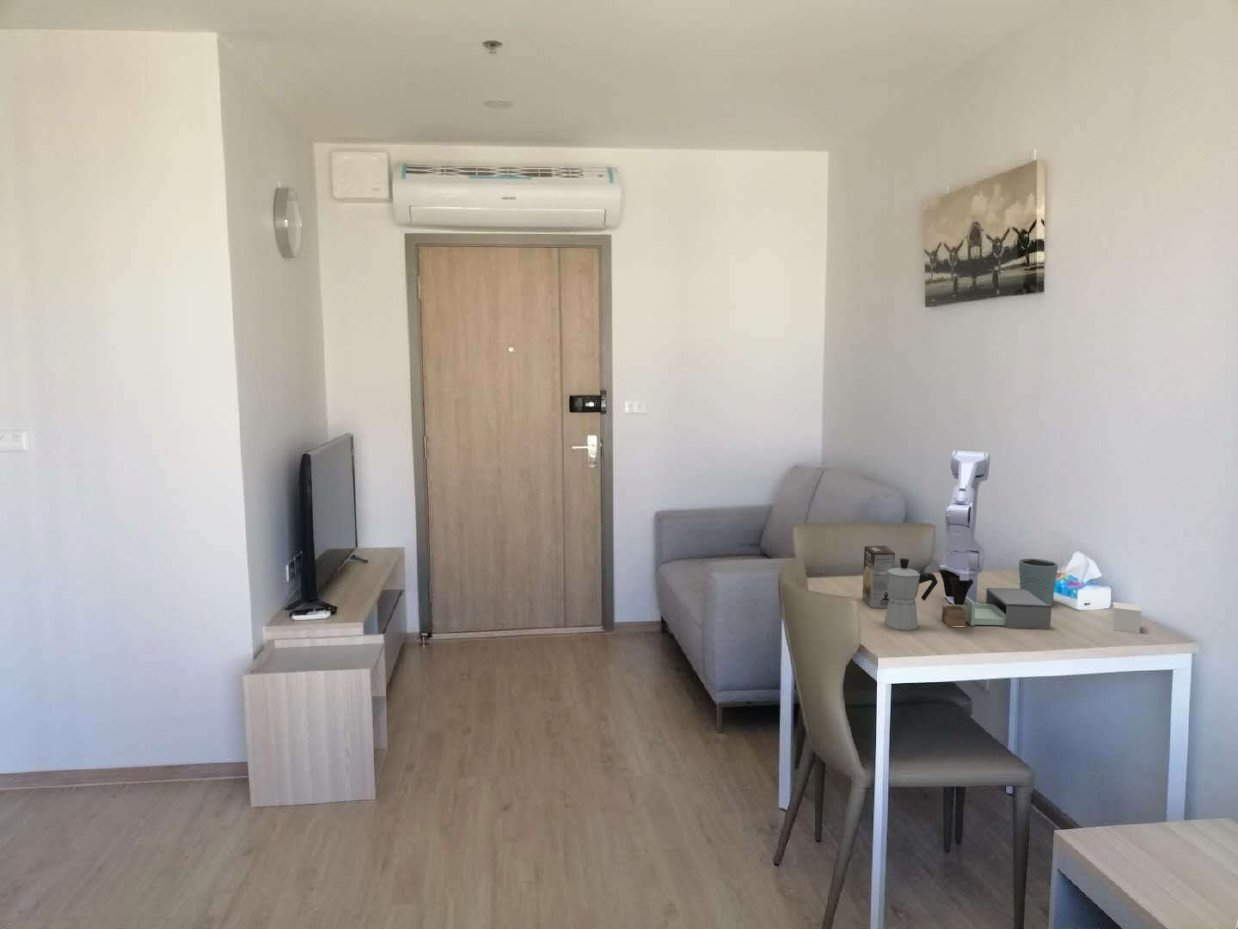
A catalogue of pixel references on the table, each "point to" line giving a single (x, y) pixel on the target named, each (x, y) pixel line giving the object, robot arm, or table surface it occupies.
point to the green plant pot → (1038, 577)
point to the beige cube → (1126, 617)
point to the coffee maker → (904, 595)
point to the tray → (982, 613)
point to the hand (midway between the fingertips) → (954, 600)
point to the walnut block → (953, 615)
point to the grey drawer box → (1021, 607)
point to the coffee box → (876, 575)
